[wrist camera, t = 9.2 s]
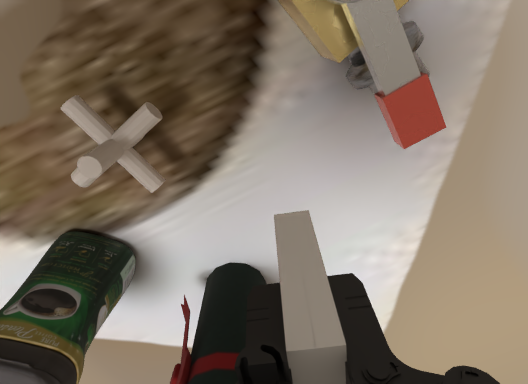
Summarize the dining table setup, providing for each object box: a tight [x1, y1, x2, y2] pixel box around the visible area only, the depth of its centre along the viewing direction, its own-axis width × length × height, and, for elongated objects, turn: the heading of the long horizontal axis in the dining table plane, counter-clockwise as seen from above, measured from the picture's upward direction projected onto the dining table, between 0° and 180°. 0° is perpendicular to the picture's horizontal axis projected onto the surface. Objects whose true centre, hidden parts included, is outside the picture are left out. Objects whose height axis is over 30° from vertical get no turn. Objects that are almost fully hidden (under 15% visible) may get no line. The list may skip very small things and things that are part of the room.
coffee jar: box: [0, 231, 135, 384], centre depth 32 cm, size 10×8×19 cm
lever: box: [327, 0, 446, 149], centre depth 20 cm, size 14×4×2 cm, turn 31°
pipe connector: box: [61, 95, 166, 193], centre depth 29 cm, size 10×10×10 cm
